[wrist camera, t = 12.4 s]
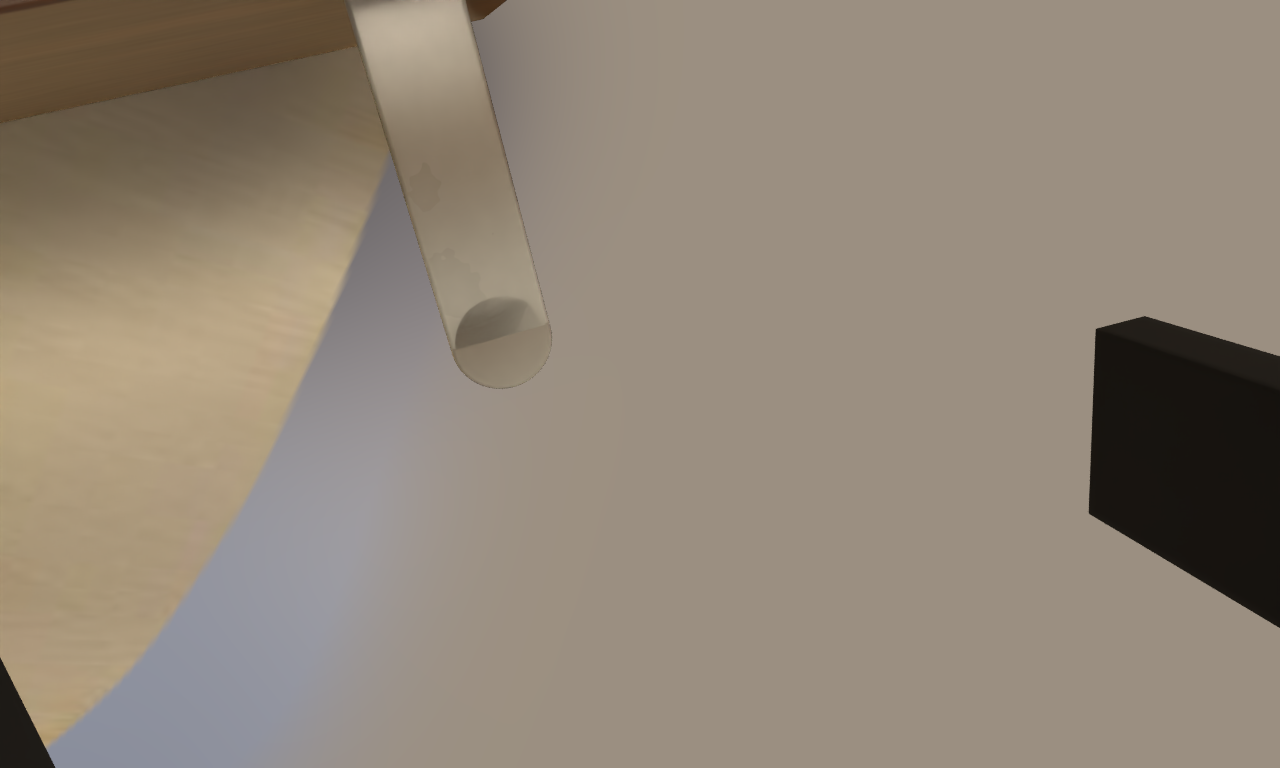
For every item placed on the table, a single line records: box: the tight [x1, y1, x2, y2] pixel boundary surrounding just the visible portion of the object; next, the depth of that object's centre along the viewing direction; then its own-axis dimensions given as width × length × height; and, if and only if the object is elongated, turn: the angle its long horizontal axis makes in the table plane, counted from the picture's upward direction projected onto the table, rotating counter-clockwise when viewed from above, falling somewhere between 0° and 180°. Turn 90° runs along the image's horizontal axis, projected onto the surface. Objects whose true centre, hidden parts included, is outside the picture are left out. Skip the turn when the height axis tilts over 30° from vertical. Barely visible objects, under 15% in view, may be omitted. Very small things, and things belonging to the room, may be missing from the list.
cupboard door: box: [0, 0, 552, 389], centre depth 19 cm, size 8×22×20 cm, turn 103°
